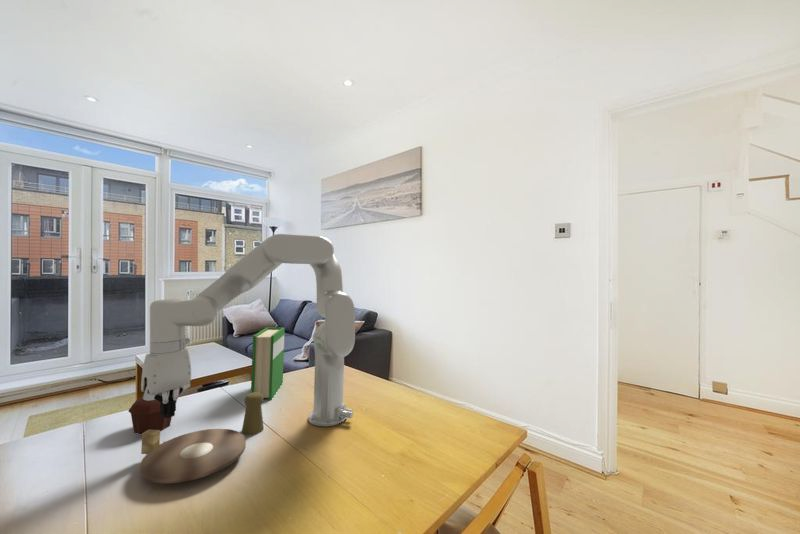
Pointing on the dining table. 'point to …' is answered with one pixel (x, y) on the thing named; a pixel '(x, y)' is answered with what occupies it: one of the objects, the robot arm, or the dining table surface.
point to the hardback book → (267, 361)
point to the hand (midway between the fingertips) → (168, 416)
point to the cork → (253, 414)
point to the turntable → (189, 454)
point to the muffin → (147, 416)
